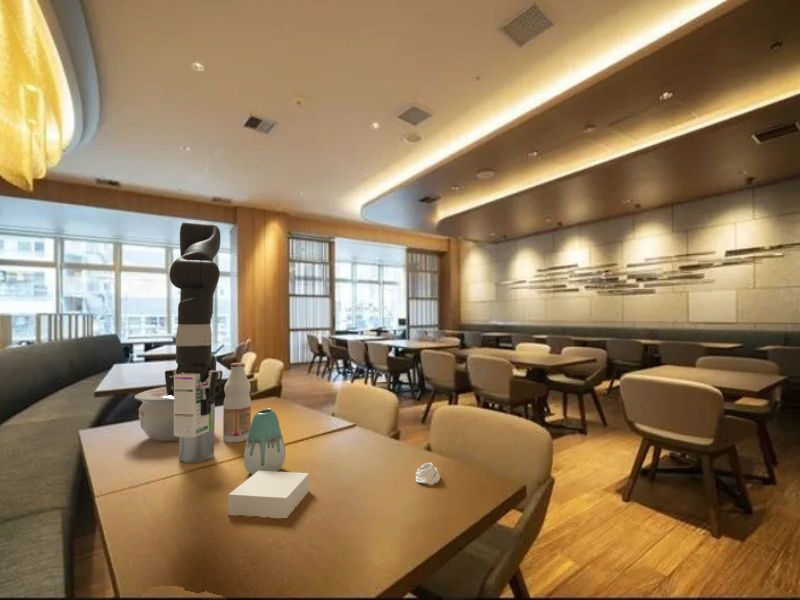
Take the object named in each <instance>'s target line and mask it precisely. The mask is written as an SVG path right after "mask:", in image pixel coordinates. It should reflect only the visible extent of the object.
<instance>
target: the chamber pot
mask: <svg viewBox="0 0 800 600" xmlns="http://www.w3.org/2000/svg"><path fill="white" fill-rule="evenodd" d="M172 390H173V387H172ZM134 399H135V400H138V401H141V405H140V406H139V408H138V419H139V423H140V428H141V430H142V431H143V432H144V433H145V435H146V436H147V437H148V438H149V439H151V440H153V441H156V442H157V441H158V442H163V441H169V442H178V441H179V437H178V436H174V397H173V396H171V395H170V396H168V395H167V389H166V386H161V387H156V388H152V389H149V390H145V391H141V392H139V393H137V394H135V395H134ZM177 440H178V441H177Z"/></svg>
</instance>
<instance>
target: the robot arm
mask: <svg viewBox="0 0 800 600" xmlns="http://www.w3.org/2000/svg"><path fill="white" fill-rule="evenodd" d="M220 247H221V231H220V229H219V227H218V226H217V225H215V224H211V223H205V222H193V221H184V222H182V223H181V225H180V229H179V248H180V249H179V252H180V256H179V257H177V258H176V259H175V260H174V261H173V263H172V264H171V266H170V269H169V281H170V282H171V284H172V285H173V286H174V287H175V288H177V289H180V293H179V295H180V297H179V298H180V299H179V302H178V305H177V328H176V334H175V335H176V336H175V340H176V342H175V345H176V346H175V363H176V364H177V367H176V369H175V368H174V369H167V370H165V371H164V378H165V379H164V380H165V387H166V389H167V395H168V396H170V395H171V396H173V397H174V375H176V374H183V373H191V374H200V381H201V382H200V381H198V390H199V391H200V395H201V397H202V399H203V400H201V416H205V415H208V414H209V412H210V411H211V430H210V431H208V432H206V433H203V434H201V435H198V436H196V437H195V438H192V437H179V440H178V441H179V443H178V461H180V462H181V461H182V462H183V463H187V464H196V463H201V462H207V461H209V460H212V459H213V458H214V456H215V415H216V414H215V411H216V410H215V407H216V406H215V405H216V400H215V399H216V396H219V395H220V392H221V386H222V380H223V374H224V373H223V371H222V370H217V359H216V356H215V355H214V354H213V353H212V345H213V344H212V342H213V339H212V338H213V337H212V336H213V335H212V333H213V332H212V325H211V324H212V321H211V320H212V317H213V314H214V294H215V291H216V288H217V286H218V283H219V280H220V275H221V273H220V269H219V266H218V265H217V264H216V263H215V262H214V259H215V257H216V256H217V254H218V253H219V250H220ZM209 376H210V377H209ZM208 377H209V379H211V381H210V383H209V380H207V378H208ZM206 380H207V385H205V386H202V385H201V383H203V382H205V381H206ZM172 387H173V390H172ZM205 389H206V391H205Z"/></svg>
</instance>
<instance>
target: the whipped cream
mask: <svg viewBox="0 0 800 600" xmlns="http://www.w3.org/2000/svg"><path fill="white" fill-rule="evenodd" d="M415 475H416V476H415V482H417V483H418V484H419V483H420V484H421V483H422V484H432V485H433V484H437V483H438V482H440V479H441V477H440V472H439V471H438V468H437V467H435V466H434V464H433V463H432V462H425V463H423V464H422V465H421V466H420V467H418V468H417V469H416V472H415Z"/></svg>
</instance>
